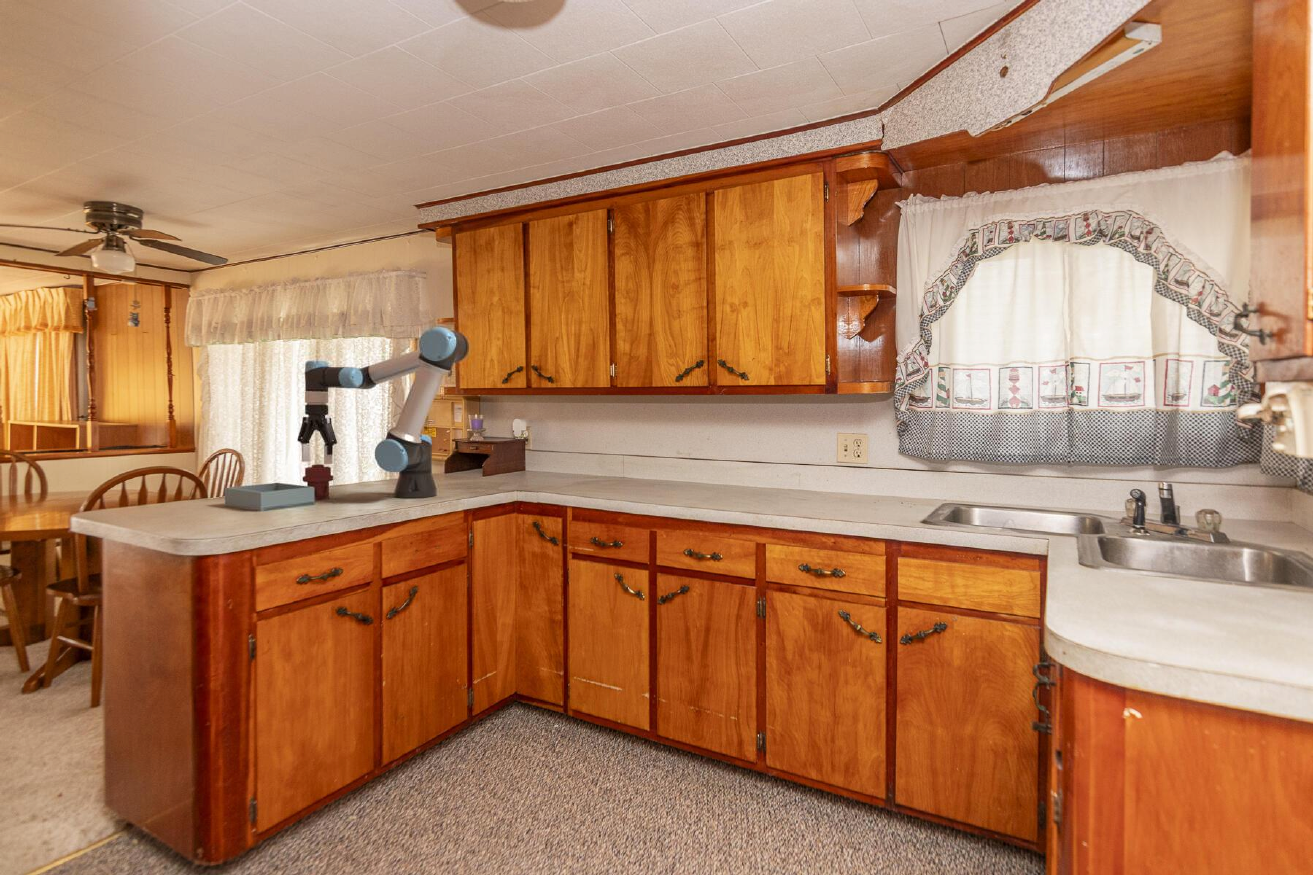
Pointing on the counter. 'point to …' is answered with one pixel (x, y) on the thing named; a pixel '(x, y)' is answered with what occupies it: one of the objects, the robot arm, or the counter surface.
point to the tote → (269, 496)
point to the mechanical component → (318, 480)
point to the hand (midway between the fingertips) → (316, 462)
